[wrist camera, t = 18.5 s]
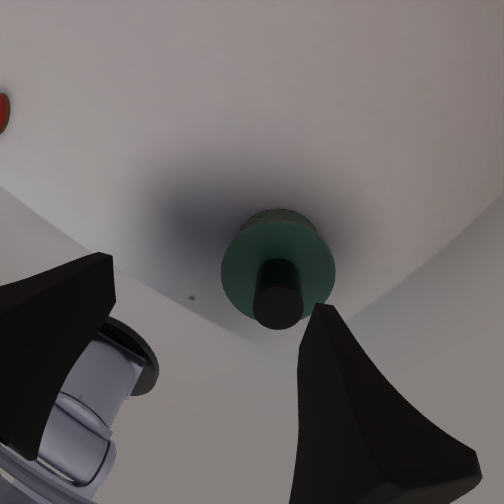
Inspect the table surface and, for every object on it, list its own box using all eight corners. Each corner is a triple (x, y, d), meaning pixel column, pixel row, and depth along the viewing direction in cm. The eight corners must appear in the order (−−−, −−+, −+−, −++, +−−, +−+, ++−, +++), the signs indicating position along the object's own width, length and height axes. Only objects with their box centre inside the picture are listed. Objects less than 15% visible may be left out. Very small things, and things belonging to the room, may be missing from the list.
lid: (293, 329, 19) (295, 376, 15) (205, 283, 18) (187, 324, 14) (353, 252, 17) (374, 289, 13) (258, 194, 16) (253, 216, 12)
